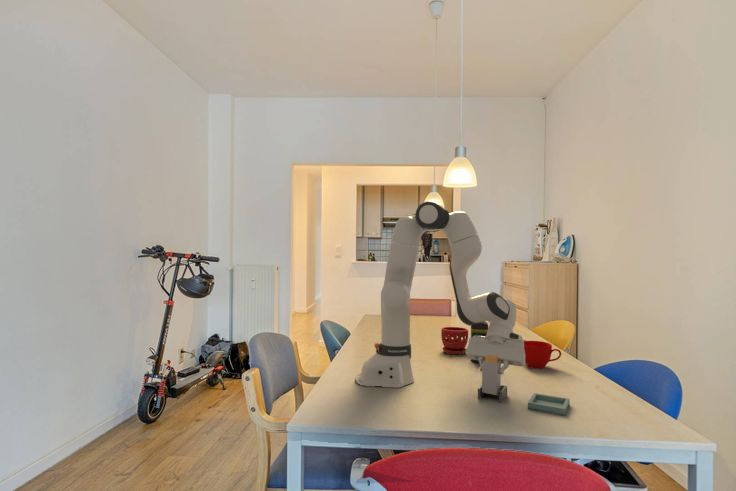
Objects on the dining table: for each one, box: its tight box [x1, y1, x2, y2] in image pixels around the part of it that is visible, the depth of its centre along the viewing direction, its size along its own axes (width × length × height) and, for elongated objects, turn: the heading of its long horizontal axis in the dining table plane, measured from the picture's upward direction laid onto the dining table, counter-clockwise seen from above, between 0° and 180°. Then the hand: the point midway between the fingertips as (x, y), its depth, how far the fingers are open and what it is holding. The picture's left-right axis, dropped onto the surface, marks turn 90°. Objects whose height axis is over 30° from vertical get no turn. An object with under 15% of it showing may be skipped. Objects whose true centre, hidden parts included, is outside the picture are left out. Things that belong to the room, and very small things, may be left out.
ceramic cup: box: [524, 340, 562, 369], centre depth 189 cm, size 13×17×10 cm
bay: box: [477, 384, 508, 404], centre depth 150 cm, size 8×8×4 cm
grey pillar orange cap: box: [481, 355, 502, 396], centre depth 150 cm, size 5×5×12 cm
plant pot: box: [440, 326, 469, 356], centre depth 216 cm, size 13×13×12 cm
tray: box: [527, 392, 570, 417], centre depth 141 cm, size 11×11×2 cm
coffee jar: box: [470, 321, 489, 364], centre depth 200 cm, size 10×8×19 cm
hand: (491, 371), depth 150 cm, fingers closed on grey pillar orange cap, 5 cm apart
